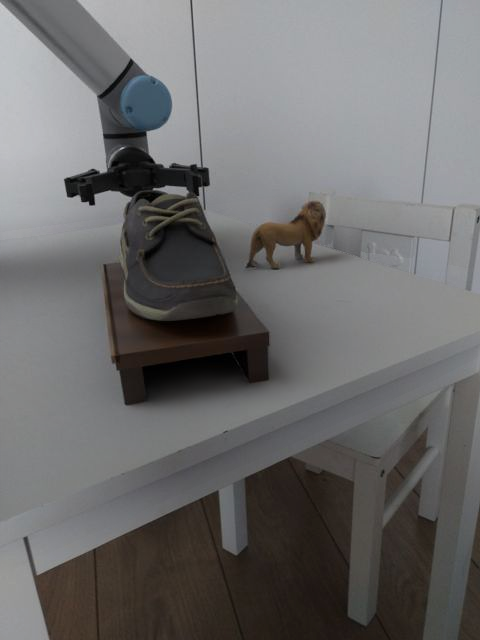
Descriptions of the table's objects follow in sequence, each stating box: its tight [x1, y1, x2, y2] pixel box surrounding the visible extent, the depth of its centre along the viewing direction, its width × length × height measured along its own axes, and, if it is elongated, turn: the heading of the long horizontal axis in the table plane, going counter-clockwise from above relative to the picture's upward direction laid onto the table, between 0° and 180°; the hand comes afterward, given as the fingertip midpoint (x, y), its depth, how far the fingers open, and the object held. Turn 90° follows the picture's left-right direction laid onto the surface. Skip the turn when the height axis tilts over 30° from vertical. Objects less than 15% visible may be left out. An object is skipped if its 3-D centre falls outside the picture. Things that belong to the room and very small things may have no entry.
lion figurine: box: [244, 200, 327, 269], centre depth 88 cm, size 15×5×9 cm, turn 122°
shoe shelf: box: [100, 261, 271, 405], centre depth 65 cm, size 30×14×5 cm, turn 16°
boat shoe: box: [118, 189, 238, 321], centre depth 62 cm, size 11×29×11 cm, turn 24°
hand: (144, 190), depth 74 cm, fingers open, 13 cm apart
